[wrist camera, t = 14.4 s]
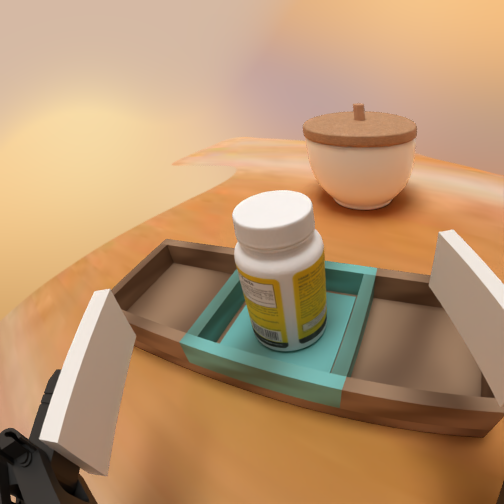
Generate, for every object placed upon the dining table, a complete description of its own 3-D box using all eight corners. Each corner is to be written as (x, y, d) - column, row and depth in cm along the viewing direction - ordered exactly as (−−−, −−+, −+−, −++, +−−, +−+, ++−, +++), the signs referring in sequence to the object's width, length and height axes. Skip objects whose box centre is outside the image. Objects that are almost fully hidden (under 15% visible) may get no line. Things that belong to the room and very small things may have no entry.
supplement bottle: (320, 294, 22) (312, 181, 17) (333, 347, 18) (332, 222, 13) (252, 305, 22) (226, 195, 18) (253, 358, 18) (221, 239, 14)
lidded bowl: (291, 193, 39) (279, 107, 33) (366, 169, 42) (361, 94, 36) (356, 236, 29) (352, 120, 23) (434, 201, 32) (439, 108, 26)
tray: (109, 333, 24) (93, 307, 22) (175, 265, 30) (166, 238, 29) (483, 437, 11) (506, 412, 10) (483, 316, 18) (495, 284, 16)
